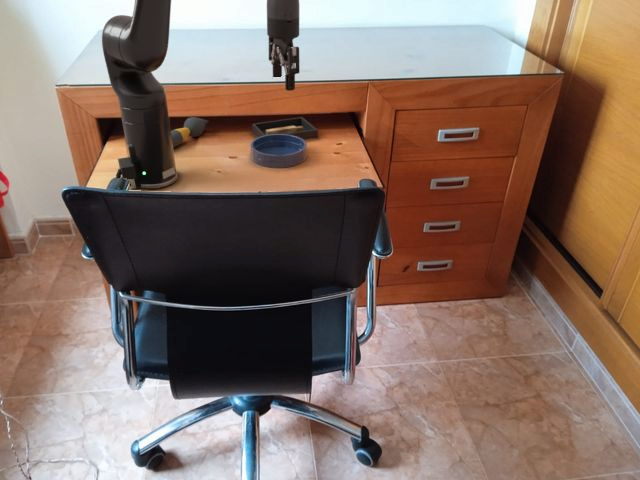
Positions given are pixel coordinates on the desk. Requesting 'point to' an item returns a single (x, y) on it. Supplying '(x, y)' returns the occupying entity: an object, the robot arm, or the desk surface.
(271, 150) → the bowl
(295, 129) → the wooden stick
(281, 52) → the robot arm
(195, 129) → the paintbrush
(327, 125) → the desk surface
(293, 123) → the pen tray
